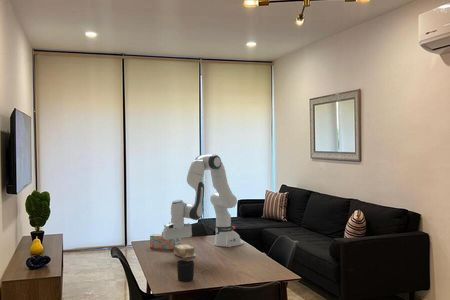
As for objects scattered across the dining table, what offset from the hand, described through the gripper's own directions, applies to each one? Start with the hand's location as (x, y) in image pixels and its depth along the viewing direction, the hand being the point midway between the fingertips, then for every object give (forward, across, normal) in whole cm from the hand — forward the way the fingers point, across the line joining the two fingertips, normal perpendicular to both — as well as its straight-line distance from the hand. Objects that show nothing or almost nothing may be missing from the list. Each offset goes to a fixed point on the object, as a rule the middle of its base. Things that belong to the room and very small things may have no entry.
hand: (177, 244), depth 293 cm
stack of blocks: (+8, -1, -26) cm, 27 cm away
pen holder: (+8, +16, +50) cm, 53 cm away
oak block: (+4, 0, 0) cm, 4 cm away
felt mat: (+8, -6, 0) cm, 10 cm away
